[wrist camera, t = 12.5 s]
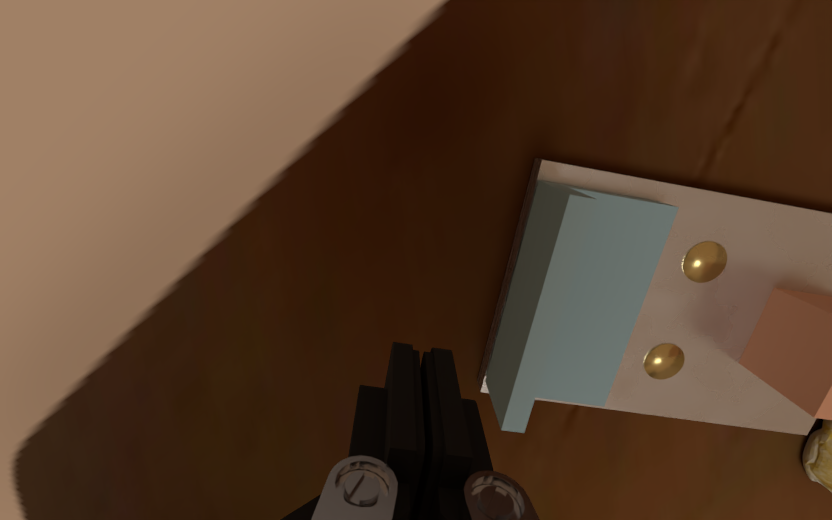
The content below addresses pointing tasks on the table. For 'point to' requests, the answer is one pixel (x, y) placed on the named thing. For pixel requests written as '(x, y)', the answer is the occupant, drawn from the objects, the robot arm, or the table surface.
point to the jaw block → (795, 349)
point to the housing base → (700, 299)
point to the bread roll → (819, 455)
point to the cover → (574, 298)
